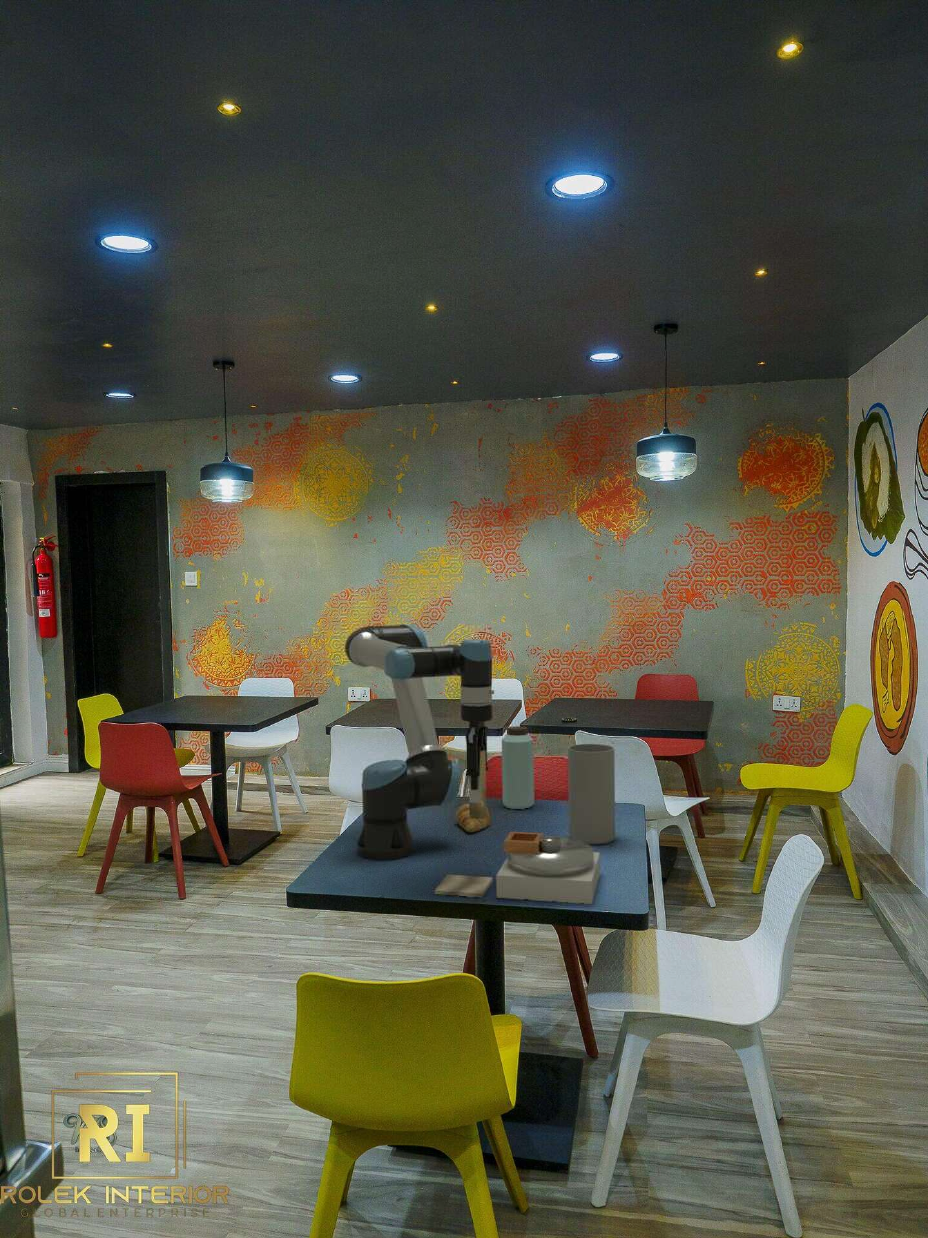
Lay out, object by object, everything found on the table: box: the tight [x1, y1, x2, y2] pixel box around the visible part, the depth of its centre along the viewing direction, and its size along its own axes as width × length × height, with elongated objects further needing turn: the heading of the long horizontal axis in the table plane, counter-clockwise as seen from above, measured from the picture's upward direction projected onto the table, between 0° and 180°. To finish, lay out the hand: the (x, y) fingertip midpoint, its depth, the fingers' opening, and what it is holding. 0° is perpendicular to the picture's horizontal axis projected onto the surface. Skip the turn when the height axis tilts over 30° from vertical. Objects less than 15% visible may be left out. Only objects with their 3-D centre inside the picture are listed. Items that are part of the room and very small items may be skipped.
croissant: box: [454, 802, 491, 833], centre depth 250 cm, size 21×10×8 cm, turn 175°
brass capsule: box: [468, 750, 487, 819], centre depth 206 cm, size 4×4×16 cm
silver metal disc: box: [503, 831, 595, 876], centre depth 197 cm, size 20×20×6 cm
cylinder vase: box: [567, 743, 616, 846], centre depth 233 cm, size 12×12×25 cm
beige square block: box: [495, 851, 601, 905], centre depth 197 cm, size 21×21×5 cm
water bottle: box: [501, 725, 535, 810], centre depth 270 cm, size 10×10×25 cm
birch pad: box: [434, 874, 494, 899], centre depth 196 cm, size 11×11×1 cm
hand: (477, 799), depth 206 cm, fingers closed on brass capsule, 4 cm apart
